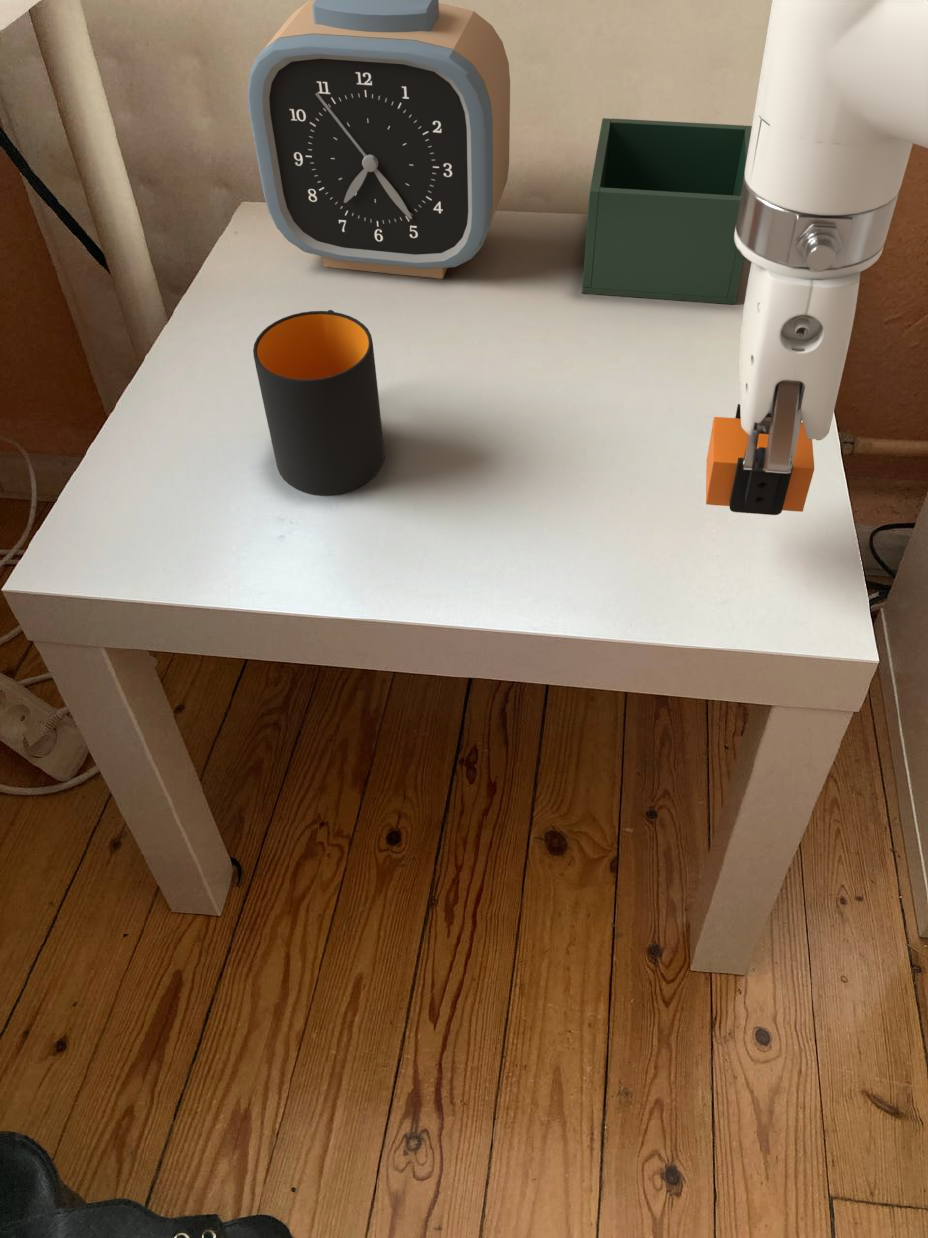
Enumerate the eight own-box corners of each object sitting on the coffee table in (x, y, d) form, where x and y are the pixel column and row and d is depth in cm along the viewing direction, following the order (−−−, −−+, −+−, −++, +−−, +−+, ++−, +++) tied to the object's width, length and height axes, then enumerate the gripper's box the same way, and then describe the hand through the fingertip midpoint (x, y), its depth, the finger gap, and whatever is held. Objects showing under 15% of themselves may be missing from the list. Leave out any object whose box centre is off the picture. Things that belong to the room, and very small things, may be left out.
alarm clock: (274, 267, 96) (229, 16, 80) (305, 216, 102) (269, -28, 86) (488, 289, 93) (488, 33, 77) (508, 235, 99) (511, -14, 82)
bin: (734, 225, 99) (754, 125, 92) (735, 304, 91) (756, 201, 83) (594, 216, 101) (602, 117, 94) (581, 293, 92) (589, 190, 85)
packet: (706, 459, 68) (713, 416, 65) (799, 466, 67) (810, 422, 65) (705, 504, 65) (713, 461, 63) (802, 512, 64) (814, 468, 62)
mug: (395, 395, 83) (385, 282, 76) (377, 497, 76) (364, 382, 68) (295, 393, 84) (274, 280, 76) (267, 493, 76) (241, 379, 68)
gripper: (908, 310, 46) (821, 583, 60) (874, 141, 57) (807, 405, 71) (739, 302, 47) (691, 572, 61) (737, 137, 58) (697, 399, 72)
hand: (754, 480), depth 66 cm, fingers closed on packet, 4 cm apart
